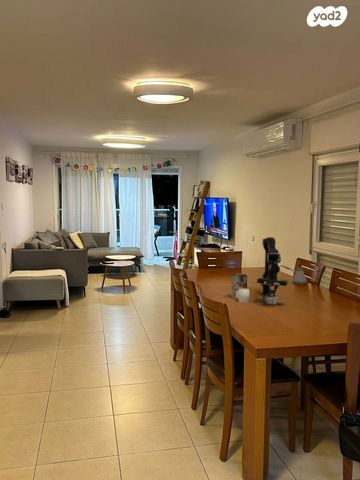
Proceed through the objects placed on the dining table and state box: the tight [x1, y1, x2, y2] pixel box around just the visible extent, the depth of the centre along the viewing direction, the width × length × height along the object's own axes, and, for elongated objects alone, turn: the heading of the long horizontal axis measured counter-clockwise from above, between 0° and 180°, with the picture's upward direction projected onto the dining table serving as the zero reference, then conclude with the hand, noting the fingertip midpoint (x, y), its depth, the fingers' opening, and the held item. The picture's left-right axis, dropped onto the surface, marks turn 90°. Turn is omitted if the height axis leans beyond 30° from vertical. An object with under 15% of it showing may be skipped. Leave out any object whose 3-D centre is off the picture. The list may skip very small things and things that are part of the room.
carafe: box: [262, 294, 279, 306], centre depth 266 cm, size 7×10×5 cm
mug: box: [236, 288, 250, 304], centre depth 272 cm, size 7×9×8 cm
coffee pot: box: [279, 264, 308, 286], centre depth 330 cm, size 21×12×15 cm, turn 88°
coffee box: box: [230, 273, 248, 300], centre depth 281 cm, size 9×6×16 cm
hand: (271, 294), depth 265 cm, fingers closed on plunger, 2 cm apart
